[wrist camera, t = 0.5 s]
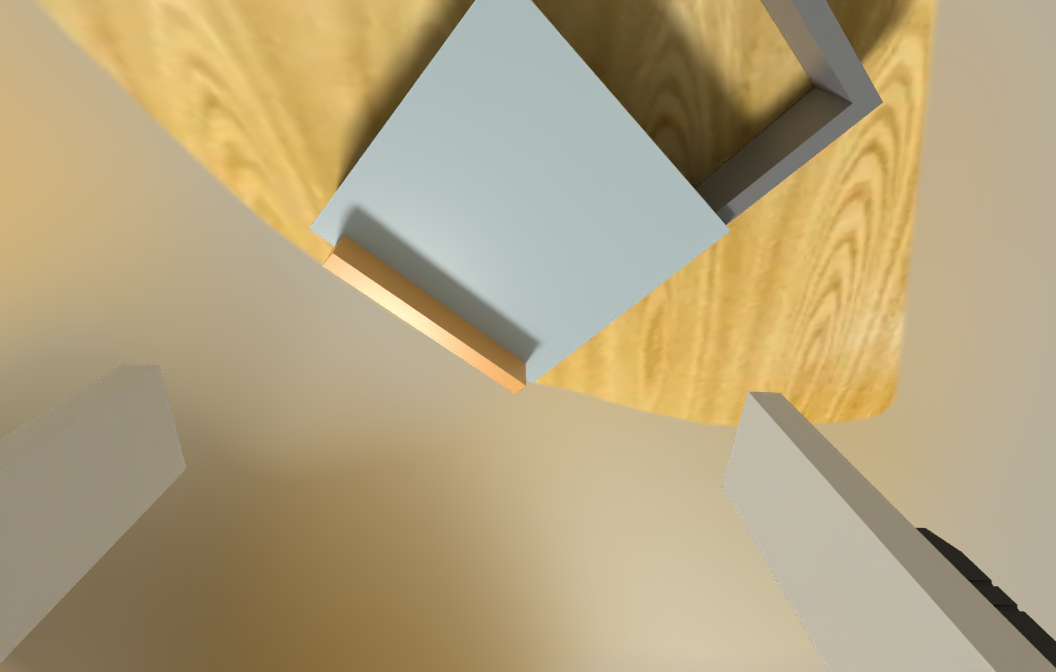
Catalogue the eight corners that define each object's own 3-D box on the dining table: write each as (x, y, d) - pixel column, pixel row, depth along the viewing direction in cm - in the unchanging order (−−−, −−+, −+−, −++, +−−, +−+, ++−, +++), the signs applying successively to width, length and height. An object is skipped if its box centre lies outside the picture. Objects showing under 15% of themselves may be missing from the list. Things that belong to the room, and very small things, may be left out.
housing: (650, -236, 23) (674, -273, 19) (841, 86, 31) (883, 102, 27) (334, 196, 35) (313, 223, 32) (531, 342, 44) (532, 376, 40)
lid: (501, -35, 24) (498, -35, 21) (726, 225, 32) (744, 248, 29) (313, 223, 32) (294, 247, 29) (532, 376, 40) (532, 405, 37)
